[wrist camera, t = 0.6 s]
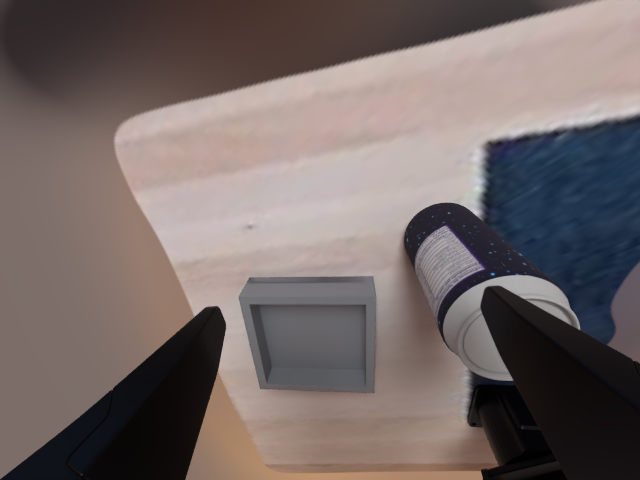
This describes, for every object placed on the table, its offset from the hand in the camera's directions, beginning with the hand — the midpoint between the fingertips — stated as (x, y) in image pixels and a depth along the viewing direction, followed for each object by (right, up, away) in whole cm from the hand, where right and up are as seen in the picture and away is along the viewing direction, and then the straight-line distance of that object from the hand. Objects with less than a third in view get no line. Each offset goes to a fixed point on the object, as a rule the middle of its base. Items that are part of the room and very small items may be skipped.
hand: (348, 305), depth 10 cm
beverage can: (+9, +3, +14) cm, 16 cm away
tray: (-2, -6, +19) cm, 20 cm away
